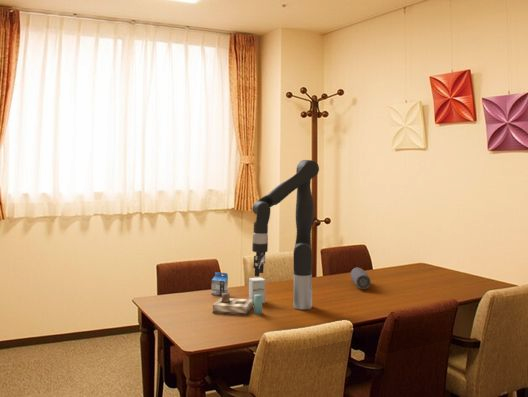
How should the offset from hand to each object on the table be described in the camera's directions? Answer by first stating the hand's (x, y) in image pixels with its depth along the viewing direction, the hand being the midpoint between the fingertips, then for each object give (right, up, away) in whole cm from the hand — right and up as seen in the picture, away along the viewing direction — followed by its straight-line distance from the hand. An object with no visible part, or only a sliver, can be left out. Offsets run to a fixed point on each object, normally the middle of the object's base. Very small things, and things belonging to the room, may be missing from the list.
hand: (259, 274), depth 252 cm
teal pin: (-1, -19, -1) cm, 19 cm away
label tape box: (-23, -17, +35) cm, 45 cm away
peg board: (-13, -19, +5) cm, 23 cm away
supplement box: (-1, -18, +20) cm, 27 cm away
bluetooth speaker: (+60, -16, +55) cm, 83 cm away
